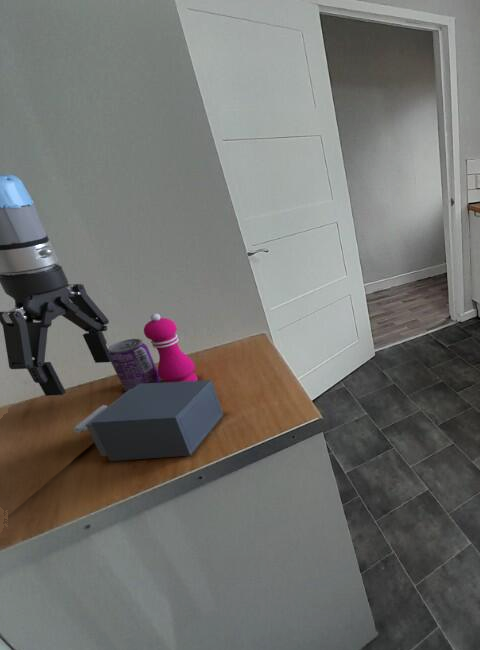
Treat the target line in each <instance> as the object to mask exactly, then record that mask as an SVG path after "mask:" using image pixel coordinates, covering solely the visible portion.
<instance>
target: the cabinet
mask: <svg viewBox="0 0 480 650" xmlns="http://www.w3.org/2000/svg"><path fill="white" fill-rule="evenodd" d="M223 416H224V413H223V410H222V407H221V405H220V402H219V399H218V395H217V392H216V389H215V386H214V384H213V380H212V379H208V380H207V379H206V380H205V379H204V380H197V381H185V382H158V383H144V384H138V385H137V386H135V387H134V388H133V389H132V390H130V391H129V392H128V393H127V394H126V395H124V396H123V397H122V398H121V399H119V400H118V401H117V402H116V403H115V404H113V405H112V406H111V407H110V408H108V409H107V410H106V411H105V412H103V413H102V414H101V415H100V416H99V417H97V418H96V419H95V420H94V421H92V422H91V423H92V425H93V427H94V429H95V431H96V433H97V435H98V437H99V439H100V441H101V443H102V445H103V447H104V449H105V451H106V453H107V455H108V456H107V457H108V459H109V462H117V461H118V462H119V461H133V460H143V459H144V460H146V459H160V458H161V459H162V458H175V457H176V458H177V457H190V456H192V455H193V453H194V452H195V451H196V449H197V448H198V447H199V446H200V445H201V444H202V442H203V441H204V440H205V438H206V437H207V436H208V434H209V433H210V432H211V431H212V430H213V428H214V427H215V426H216V425H217V423H218V422H219V421H220V419H222V417H223Z"/></svg>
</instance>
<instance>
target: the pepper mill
mask: <svg viewBox="0 0 480 650" xmlns="http://www.w3.org/2000/svg"><path fill="white" fill-rule="evenodd" d="M177 330H178V326H177V325H176V323H175V322H174V321H173V320H172V319H170V318H167V317H161V315H160V314H159V313H153V314H151V315H150V320H149V321H148V322H147V323H146V324H145V325H144V327H143V334H144V336H145V337H146V338H147V339H148V340H151V341H150V343H151V345H152V347H153V348H154V349H156V350H157V353H158V355H159V356H158V357H159V360H158V364H157V370H158V375H159V377H160V378H161V380H162V381H165V382H185V381H198V376H197V374H196V372H195V369H196V364H195V363H194V361H193V360H192V359H191V358H190V357H189V356H188V355H187V354H185V352H183V351H182V349H181V348H180V347H179V343H178V341H180V340H179V337H178V334H177Z"/></svg>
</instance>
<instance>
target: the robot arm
mask: <svg viewBox="0 0 480 650" xmlns="http://www.w3.org/2000/svg"><path fill="white" fill-rule="evenodd" d="M34 203H35V202H34V200H33V198H32V197H31V196H30V194H29V192H28V190H27V188H26V187H25V185H24V183H23V181H22V180H21V179H20V178H19V177H17V176H15V175H13V174H8V173H0V285H1V288H2V289H3V291H4V293H5V294H6V295H7V296H9V297H11V298H12V299H13V300H14V308H12V309H9V310H7V311H6V310H5V311H0V324H1V326H2V330H3V336H4V343H5V349H6V350H5V351H6V355H7V362H8V367H9V370H27V372H28V373H29V375H30V377H31V378H32V380H33V382H34V383H36V384H38V385H39V386H40V388H41V390H42V392H43V393H44V395H45V397H46V396H47V397H48V396H63V395H65V394H66V390H65V388H64V385H63V384H62V382H61V380H60V378H59V376H58V374H57V371H56V370H55V368H54V366H53V364H52V362H51V361H45V359H46V352H47V351H46V350H47V340H48V333H49V331H48V330H49V328H50V327H51V326H52V322H53V321H54V320H55V319H57V318H58V317H61V316H62V317H64V318H65V319H66V320H68V321H70V322H71V323H73V325H76V326H77V327H79V328H80V329H82V330H83V331H84V332H85V333H83V334H82V337H83V340H84V341H85V343H86V346H87V348H88V350H89V352H90V354H91V356H92V358H93V361H94V363H95V364H99V363H111V361H112V357H111V355H110V352H109V350H108V349H109V347H108V346H107V345H108V343H107V340H106V337H105V335H104V332H106V331H108V326H107V325H108V324H109V323H110V320H109V319H108V317H107V316H106V315H105V314H104V312H103V311H102V310H101V309H100V308H99V307H98V305H97V304H96V303H95V302H94V300H93V299H92V298H91V297H90V295H88V293H87V289H86V288H85V285H84V284H83V283H69V280H68V278H67V276H66V273H65V271H64V269H63V267H62V265H59V264H57V263H58V262H59V259H58V257H57V254H56V253H55V251H54V248H53V245H52V244H51V240H50V239H49V237H48V235H47V233H46V231H45V229H44V226H43V223H42V221H41V220H40V216H39V213H38V211H37V209H36V206H35V204H34Z"/></svg>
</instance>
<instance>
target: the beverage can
mask: <svg viewBox="0 0 480 650" xmlns="http://www.w3.org/2000/svg"><path fill="white" fill-rule="evenodd" d="M108 350H109V353H110V355H111V357H112V361H111V362H110V363H111V365H112V367H113V369H114V371H115V374H116V375H117V378H118V379H119V381H120V384H121V386H122V387H123V390H124V391H125V392H127V391H128V390H129V389H133V388H134V387H135V386H137V385H138V384H144V383H160V381H161V380H162V379H161V378H160V377H159V375H158V367H157V365H156V363H155V362H154V359H153V356H152V354H151V352H150V349H149V348H148V345H147V344H145V343H144V342H143V340H142V339H141V338H129V339H125V340H121V341H118V342H116V343H114V344H111V346H109V347H108Z"/></svg>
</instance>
